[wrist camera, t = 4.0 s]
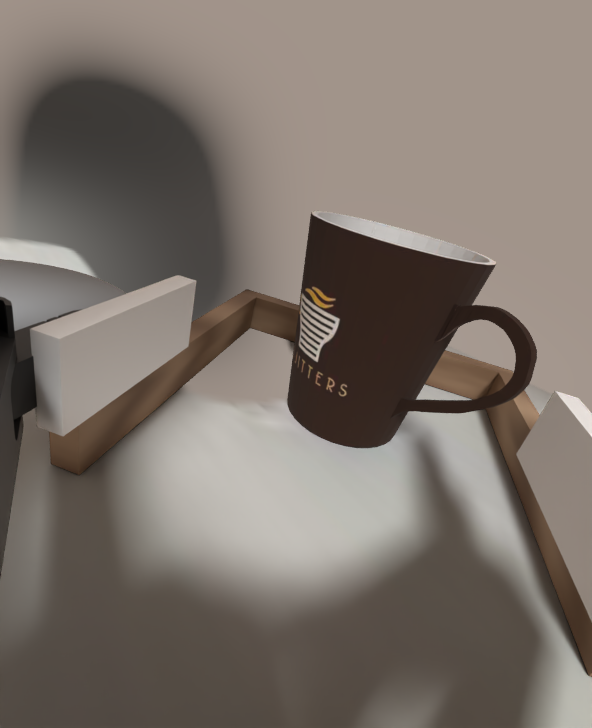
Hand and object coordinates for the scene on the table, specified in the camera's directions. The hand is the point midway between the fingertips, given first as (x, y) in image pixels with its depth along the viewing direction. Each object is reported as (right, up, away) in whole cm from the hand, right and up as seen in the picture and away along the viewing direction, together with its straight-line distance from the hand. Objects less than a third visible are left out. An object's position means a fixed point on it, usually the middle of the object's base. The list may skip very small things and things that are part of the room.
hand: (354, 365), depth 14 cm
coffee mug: (+1, -4, +7) cm, 8 cm away
